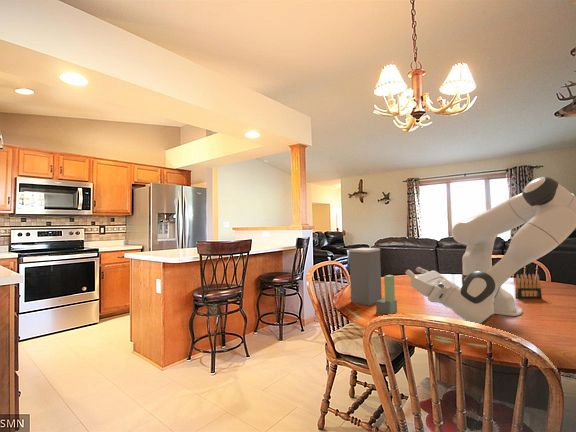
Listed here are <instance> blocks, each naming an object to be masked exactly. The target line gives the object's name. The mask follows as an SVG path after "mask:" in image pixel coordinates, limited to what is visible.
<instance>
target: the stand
mask: <svg viewBox="0 0 576 432" xmlns="http://www.w3.org/2000/svg"><path fill="white" fill-rule="evenodd" d="M348 250H349V274H350V275H349V279H350V280H349V281H350V302H351V303H353V304H359V305H363V306H368V307H369V306H372V305H374V304H375V305H376V301H378V300H380V299H383V298H382V296H383V294H382V271H381V270H382V268H381V267H382V266H381V265H382V264H381V248H377V247H376V248H375V247H374V248H373V247H359V248H358V247H357V248H350V249H348Z"/></svg>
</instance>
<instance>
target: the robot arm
mask: <svg viewBox="0 0 576 432" xmlns="http://www.w3.org/2000/svg"><path fill="white" fill-rule="evenodd" d="M520 226H521V227H520ZM517 227H520V228H519V229H518V230H517V231H516V232H515V233H514V235H513V236H512V238H511V239H510V242H509V246H508V248H507V250H506V252H505V253H504V255H503V256H502V257H501V258H500V260H498V261H497V262H495V264H494V265H492V258H493V257H492V256H493V250H494V246H495V241H496V239H497V236H498V235H500V234H503V233H506V232H509V231H511V230H514V229H515V228H517ZM574 231H576V195H575V194H574V193H572V192H570V191H569V190H568V189H567V188H566V187H564V186H562V185H561V184H559V182H558V181H557V180H555V179H554V178H551V177H550V176H540V177H538V178H537V177H536V178H535V179H533V180H531V181H530V182H528V183H527V184H526V185H525V186H524V188H523V189H522V192H521V193H518V194H516V195H514V196H512V197H511V198H509V199H507V200H505V201H502V202H501V203H500V204H498V205H495V206H494V207H492V208H489V209H488V210H485V211H483V212H481V213H478V214H476V215H474V216H471V217H469V218H467V219H465V220H462V221H460V222H457V223H456V224H455V225H454V226H453V228H452V230H451V236H452V238H453V239H454V241H455V242H456V243H459V244H461V245H466V248H465V252H464V253H463V255H462V259H461V260H462V261H461V262H462V274H461V284H462V285H461V287H460V286H459V285H456V284H455V283H454V282H452V281H450V280H449V279H447V277H445V276H444V275H442V274H441V273H439V272H438V271H436V270H430V271H429V270H427V269H425V268H422V267H420V266H416V268H415V271H416V272H417V273H420V274H418V275H417V274H415V273H414V272H413V271H412V270H410V269H407V270H405V275H406V276H408V277H409V278H410V280H411V281H410V285H411V287H412V288H413V289H415V290H416V291H417V292H419V293H420V294H421V295H422V296H424V297H426V298H427V300H428V301H429V302H431V303H435V304H436V303H438V304H440V305H443V306H444V307H445V308H448V309H450V310H451V311H453V313H454V314H455V315H457V317H458V316H459V317H460V318H461V319H462V320H465V321H466V322H467V321H470V322H475V323H479V324H483V325H484V324H486V323H487V322H488V321H490V320H491V319H492V318H493V316H494V315H502V316H510V317H514V316H515V317H517V316H520V315H521V314H522V313H523V308H521V307H520V306H517V305H516V301H515V298H514V297H513V295H512V294H511V293H510V292H508V291H506V290H505V289H503V288H502V285H504V283H505V282H506V281H508V280H509V279H510V278H511V277H513V276H514V275H515V274H517V272H519V270H520V269H522V268H524V267H525V266H527V265H529V264H531V263H533V262H534V261H537V260H538V259H540V258H542V257H544V256H545V255H547V254H549V253H550V252H551V251H553V250H554V249H556V248H557V247H558V246H559V245H561V244H562V243H563V242H564V241H565V240H566V239H567V238H568V237H569V236H570V235H571V234H572V233H573V232H574Z"/></svg>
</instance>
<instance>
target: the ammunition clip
mask: <svg viewBox="0 0 576 432" xmlns="http://www.w3.org/2000/svg"><path fill="white" fill-rule="evenodd" d="M531 275H532V276H531ZM515 280H516V281H515V298H516V299H518V300H524V299H525V300H535V299H536V300H542V299H543V295H542V288H541V282H540V276H539V273H536V276H535V274H534V273H532V274H530V273H528V275H527V274H526V273H525V274H524V276H523V273H521V274H520V276H519V274H518V273H516V278H515Z"/></svg>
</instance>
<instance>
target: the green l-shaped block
mask: <svg viewBox="0 0 576 432" xmlns="http://www.w3.org/2000/svg"><path fill="white" fill-rule="evenodd" d="M383 279H384V281H383V282H384V283H383V284H384V297H383V298H382V299H380V300H378V301H376V303H375V305H376V306H375V311H376V312H375V313H376V314H380V315H385V314H392V315H394V314H395V313H397V312H398V303H397V299H396V295H395V294H396V292H395V275H393V274H388V275H387V274H386V275H384V276H383ZM385 316H386V315H385Z"/></svg>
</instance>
